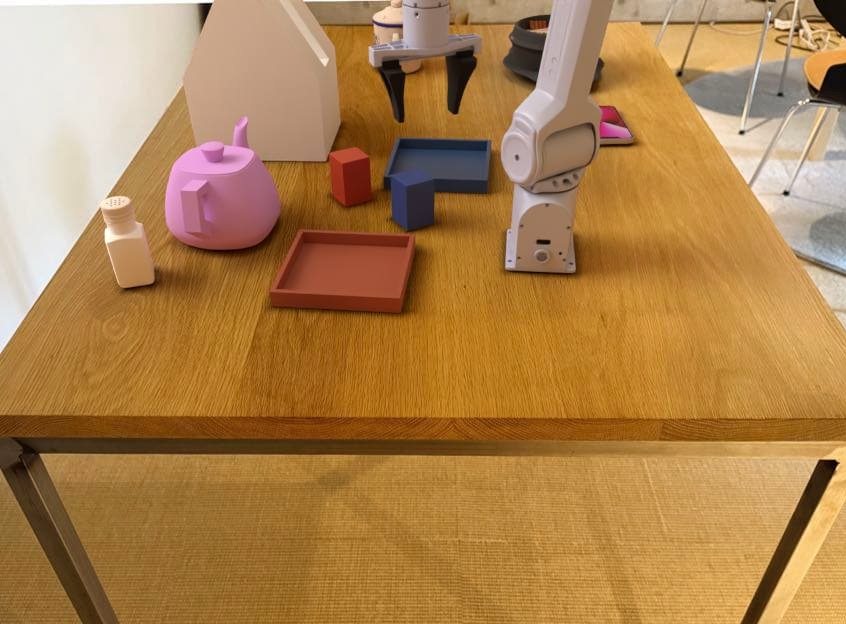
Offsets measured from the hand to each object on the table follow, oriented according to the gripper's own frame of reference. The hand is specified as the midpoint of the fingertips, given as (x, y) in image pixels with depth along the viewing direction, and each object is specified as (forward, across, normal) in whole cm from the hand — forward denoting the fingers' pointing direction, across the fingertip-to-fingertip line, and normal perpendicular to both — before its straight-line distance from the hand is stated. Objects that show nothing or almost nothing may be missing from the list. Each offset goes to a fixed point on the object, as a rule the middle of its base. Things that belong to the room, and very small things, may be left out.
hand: (426, 116), depth 100 cm
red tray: (+9, +18, +20) cm, 28 cm away
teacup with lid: (+9, -13, -48) cm, 51 cm away
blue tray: (+9, -3, -3) cm, 10 cm away
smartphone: (+9, -33, -8) cm, 35 cm away
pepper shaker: (+9, +40, +12) cm, 43 cm away
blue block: (+9, +6, +10) cm, 15 cm away
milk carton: (+9, +17, -23) cm, 30 cm away
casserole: (+9, -39, -35) cm, 53 cm away
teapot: (+9, +28, +4) cm, 30 cm away
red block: (+9, +11, +1) cm, 14 cm away
